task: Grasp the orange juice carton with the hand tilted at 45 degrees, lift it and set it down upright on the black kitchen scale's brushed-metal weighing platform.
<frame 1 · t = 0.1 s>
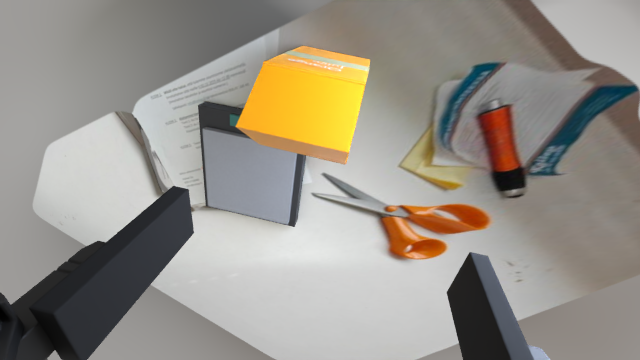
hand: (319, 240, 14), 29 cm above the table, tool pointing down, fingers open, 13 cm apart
orange juice: (331, 82, 38), on the table
scale: (255, 165, 46), on the table
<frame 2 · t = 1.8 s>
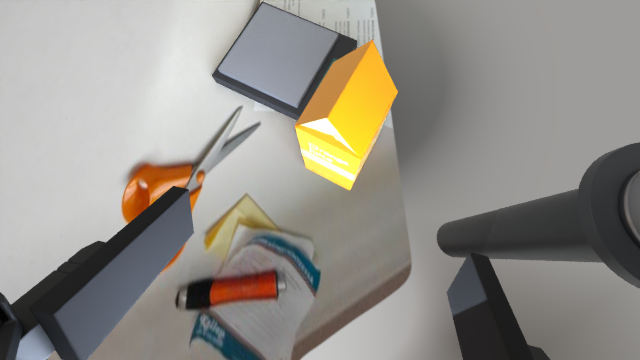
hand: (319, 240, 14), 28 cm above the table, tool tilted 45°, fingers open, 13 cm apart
orange juice: (340, 155, 44), on the table
scale: (287, 65, 48), on the table
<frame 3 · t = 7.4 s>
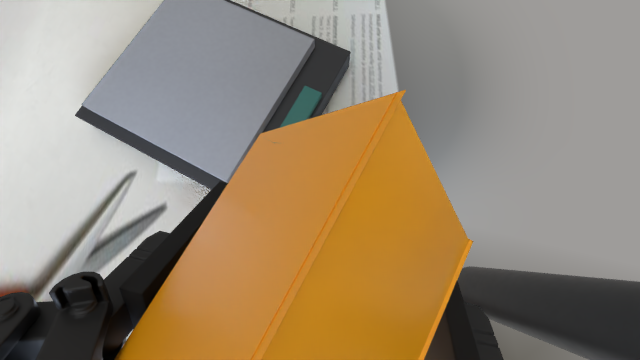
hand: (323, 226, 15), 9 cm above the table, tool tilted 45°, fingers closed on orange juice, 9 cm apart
orange juice: (315, 275, 23), on the table, touching gripper
scale: (223, 95, 27), on the table
when the fingers open (12 cm above the table, at t = 16.3 s): orange juice stays where it is, resting on scale.
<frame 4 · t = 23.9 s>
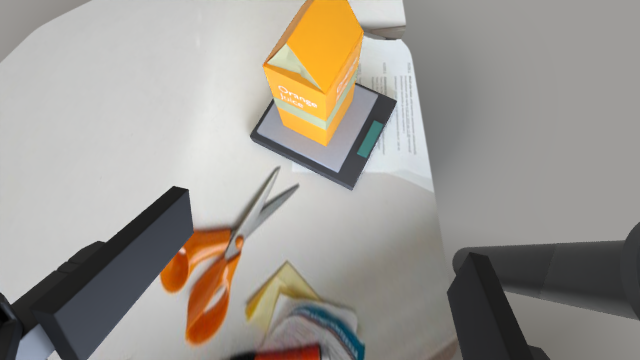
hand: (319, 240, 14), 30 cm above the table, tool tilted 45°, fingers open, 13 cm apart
orange juice: (318, 113, 45), point 3 cm above the table, touching scale
scale: (324, 123, 47), on the table
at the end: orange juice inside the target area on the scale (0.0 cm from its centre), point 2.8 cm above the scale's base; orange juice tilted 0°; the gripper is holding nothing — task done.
